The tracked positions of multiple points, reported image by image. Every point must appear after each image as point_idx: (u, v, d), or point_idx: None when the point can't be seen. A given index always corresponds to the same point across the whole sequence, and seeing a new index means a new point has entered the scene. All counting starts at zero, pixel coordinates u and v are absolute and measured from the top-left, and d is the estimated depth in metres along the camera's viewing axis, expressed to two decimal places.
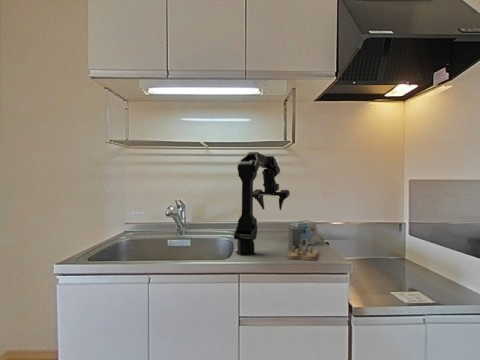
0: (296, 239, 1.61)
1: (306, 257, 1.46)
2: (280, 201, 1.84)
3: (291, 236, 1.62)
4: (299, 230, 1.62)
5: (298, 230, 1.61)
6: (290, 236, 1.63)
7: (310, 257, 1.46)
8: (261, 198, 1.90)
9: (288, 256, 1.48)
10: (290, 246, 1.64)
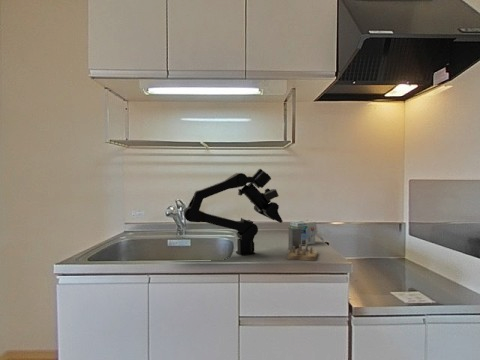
0: (296, 239, 1.61)
1: (306, 257, 1.46)
2: (270, 217, 1.55)
3: (291, 236, 1.62)
4: (299, 230, 1.62)
5: (298, 230, 1.61)
6: (290, 236, 1.63)
7: (310, 257, 1.46)
8: None
9: (288, 256, 1.48)
10: (290, 246, 1.64)
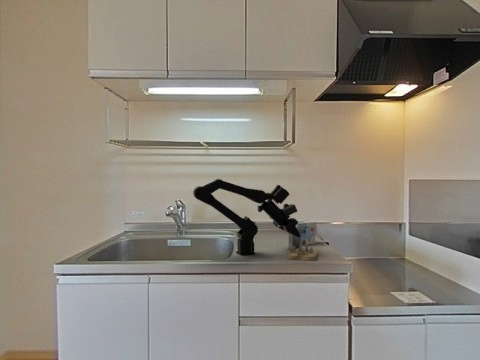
0: (296, 239, 1.61)
1: (306, 257, 1.46)
2: (288, 232, 1.59)
3: (291, 236, 1.62)
4: (299, 230, 1.62)
5: (298, 230, 1.61)
6: (290, 236, 1.63)
7: (310, 257, 1.46)
8: None
9: (288, 256, 1.48)
10: (290, 246, 1.64)
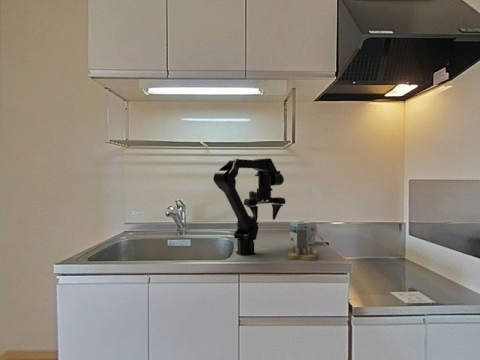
0: (301, 240, 1.50)
1: (306, 257, 1.46)
2: (278, 208, 1.68)
3: (297, 237, 1.52)
4: (305, 231, 1.49)
5: (303, 231, 1.50)
6: None
7: (310, 257, 1.46)
8: None
9: (288, 256, 1.48)
10: None
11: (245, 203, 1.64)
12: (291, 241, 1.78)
